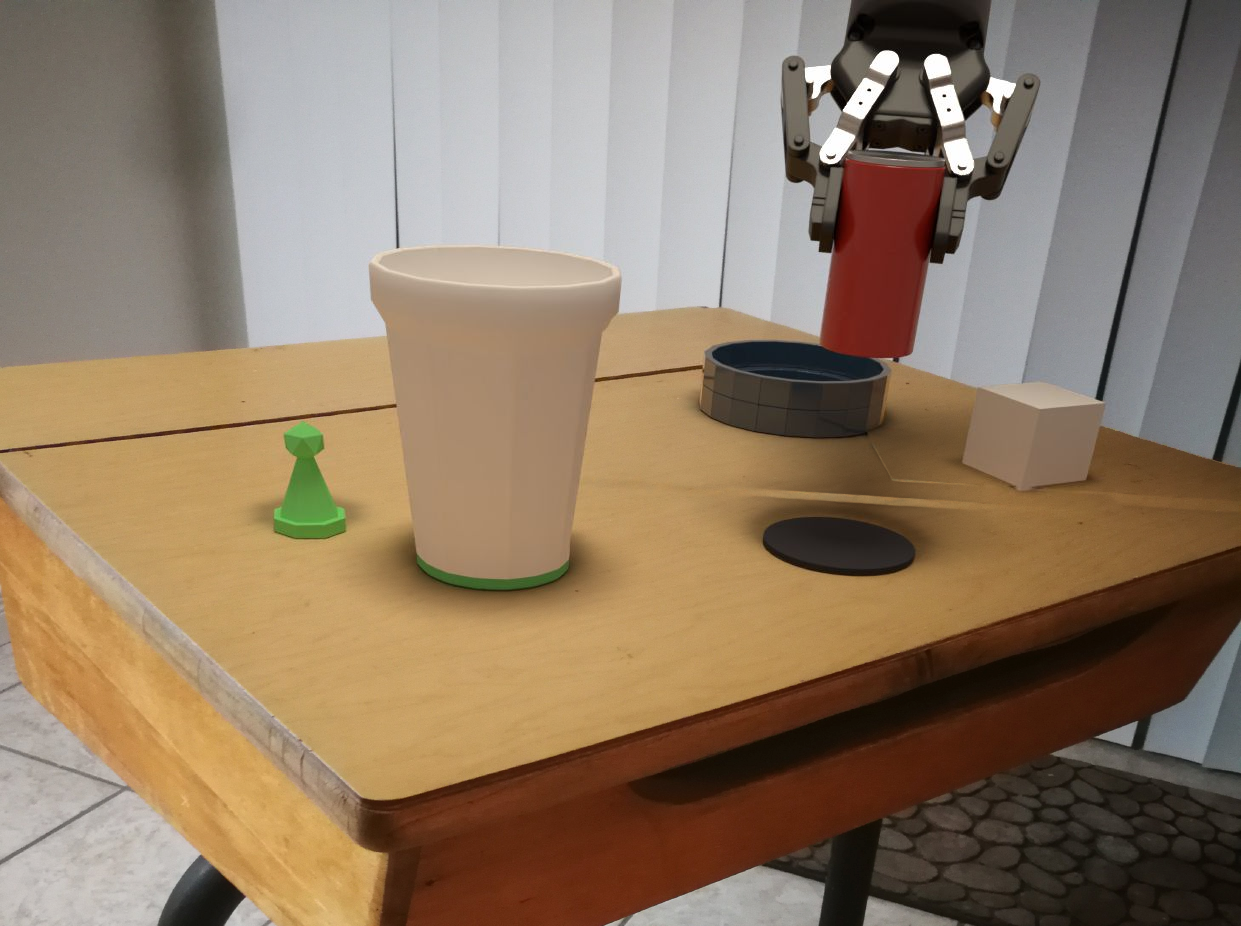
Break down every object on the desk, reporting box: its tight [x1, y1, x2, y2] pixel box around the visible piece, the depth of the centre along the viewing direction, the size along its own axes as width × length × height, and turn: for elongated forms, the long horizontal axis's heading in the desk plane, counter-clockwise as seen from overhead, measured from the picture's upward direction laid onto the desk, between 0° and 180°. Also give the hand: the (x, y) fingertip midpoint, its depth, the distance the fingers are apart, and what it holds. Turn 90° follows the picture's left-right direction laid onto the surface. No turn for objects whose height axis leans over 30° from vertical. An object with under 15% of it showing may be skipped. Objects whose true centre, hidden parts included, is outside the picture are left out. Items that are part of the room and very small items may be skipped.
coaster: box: [762, 516, 916, 576], centre depth 77 cm, size 9×9×1 cm
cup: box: [368, 244, 623, 591], centre depth 68 cm, size 12×12×15 cm
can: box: [818, 149, 946, 359], centre depth 70 cm, size 5×5×10 cm
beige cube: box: [961, 381, 1107, 492], centre depth 90 cm, size 6×6×6 cm
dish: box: [698, 339, 893, 439], centre depth 101 cm, size 14×14×4 cm
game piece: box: [273, 420, 347, 539], centre depth 74 cm, size 4×4×6 cm
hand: (882, 247), depth 68 cm, fingers closed on can, 5 cm apart
